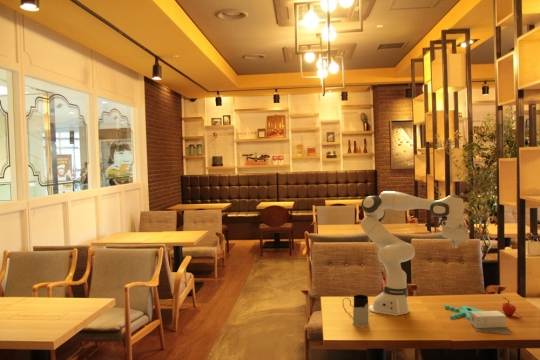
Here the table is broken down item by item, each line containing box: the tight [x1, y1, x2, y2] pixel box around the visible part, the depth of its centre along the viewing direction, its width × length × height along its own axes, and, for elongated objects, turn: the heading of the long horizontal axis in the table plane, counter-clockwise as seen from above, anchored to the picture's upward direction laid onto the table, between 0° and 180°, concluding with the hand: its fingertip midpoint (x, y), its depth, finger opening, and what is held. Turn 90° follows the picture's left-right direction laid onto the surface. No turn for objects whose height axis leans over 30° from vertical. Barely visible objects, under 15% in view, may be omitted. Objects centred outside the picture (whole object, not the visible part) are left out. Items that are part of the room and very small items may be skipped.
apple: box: [501, 297, 517, 317], centre depth 263 cm, size 8×7×10 cm
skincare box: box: [469, 310, 507, 328], centre depth 247 cm, size 8×7×16 cm
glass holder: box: [342, 294, 370, 328], centre depth 252 cm, size 9×14×15 cm, turn 70°
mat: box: [473, 325, 512, 336], centre depth 244 cm, size 16×14×1 cm
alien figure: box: [444, 304, 485, 321], centre depth 266 cm, size 20×2×20 cm
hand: (455, 247), depth 268 cm, fingers closed
